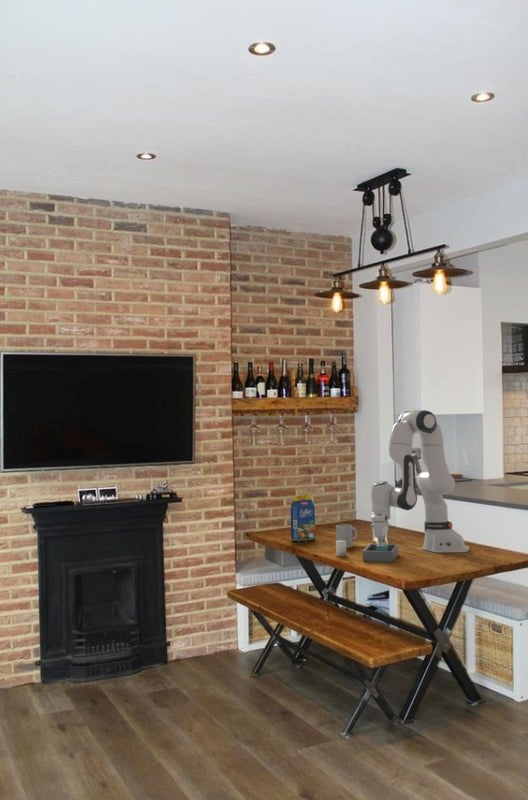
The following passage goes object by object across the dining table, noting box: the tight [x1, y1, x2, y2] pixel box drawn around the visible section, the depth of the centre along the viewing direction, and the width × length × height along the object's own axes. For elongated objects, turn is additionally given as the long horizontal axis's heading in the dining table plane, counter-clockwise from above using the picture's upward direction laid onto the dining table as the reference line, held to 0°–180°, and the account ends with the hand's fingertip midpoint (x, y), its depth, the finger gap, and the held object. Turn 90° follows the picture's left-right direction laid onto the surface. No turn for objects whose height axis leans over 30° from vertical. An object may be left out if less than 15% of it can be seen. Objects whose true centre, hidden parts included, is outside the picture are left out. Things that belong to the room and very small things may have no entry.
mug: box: [335, 523, 358, 549], centre depth 387 cm, size 12×8×11 cm
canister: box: [335, 540, 347, 557], centre depth 363 cm, size 5×5×7 cm
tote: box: [362, 543, 399, 563], centre depth 354 cm, size 14×18×5 cm
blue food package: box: [290, 493, 316, 543], centre depth 407 cm, size 6×12×25 cm, turn 124°
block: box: [376, 543, 389, 551], centre depth 358 cm, size 5×5×5 cm
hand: (382, 543), depth 358 cm, fingers open, 7 cm apart
